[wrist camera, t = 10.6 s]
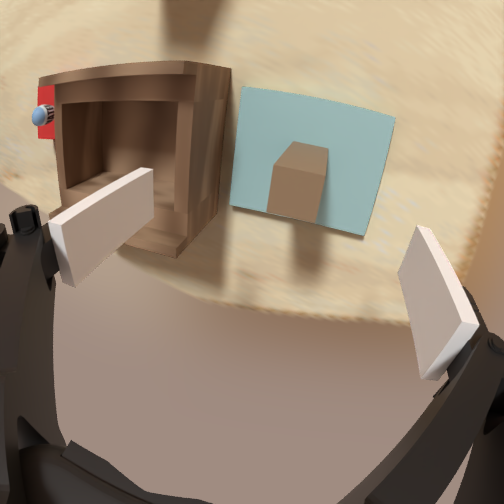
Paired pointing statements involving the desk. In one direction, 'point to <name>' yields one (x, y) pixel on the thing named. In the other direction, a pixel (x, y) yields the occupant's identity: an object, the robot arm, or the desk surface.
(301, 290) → the desk surface
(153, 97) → the walnut box
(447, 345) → the robot arm
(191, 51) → the desk surface
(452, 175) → the desk surface
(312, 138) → the lid
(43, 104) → the red knobbed tile
